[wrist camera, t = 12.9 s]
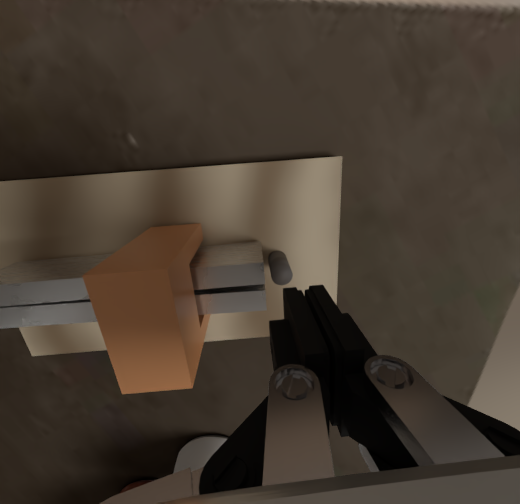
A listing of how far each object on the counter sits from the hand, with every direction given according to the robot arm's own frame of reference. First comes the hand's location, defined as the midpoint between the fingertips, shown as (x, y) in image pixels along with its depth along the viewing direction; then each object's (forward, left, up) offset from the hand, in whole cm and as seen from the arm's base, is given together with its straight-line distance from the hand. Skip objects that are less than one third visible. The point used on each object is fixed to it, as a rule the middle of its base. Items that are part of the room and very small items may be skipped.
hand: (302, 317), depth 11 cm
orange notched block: (-6, 0, -6) cm, 9 cm away
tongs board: (-7, 0, -7) cm, 10 cm away
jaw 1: (-9, +1, -6) cm, 11 cm away
